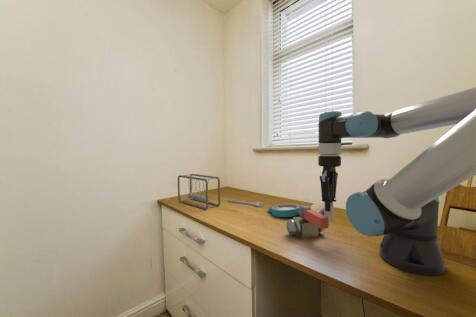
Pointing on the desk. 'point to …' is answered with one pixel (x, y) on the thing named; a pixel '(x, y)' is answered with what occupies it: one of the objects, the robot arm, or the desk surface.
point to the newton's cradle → (200, 197)
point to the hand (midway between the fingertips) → (328, 219)
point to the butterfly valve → (293, 209)
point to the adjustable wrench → (248, 203)
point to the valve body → (302, 228)
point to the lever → (313, 217)
